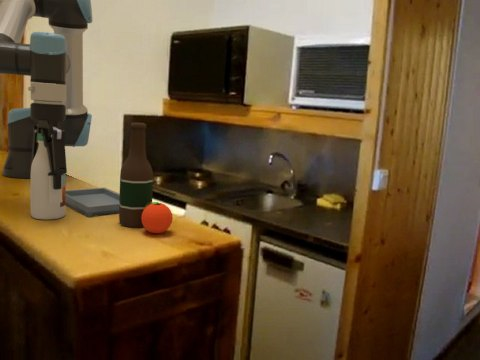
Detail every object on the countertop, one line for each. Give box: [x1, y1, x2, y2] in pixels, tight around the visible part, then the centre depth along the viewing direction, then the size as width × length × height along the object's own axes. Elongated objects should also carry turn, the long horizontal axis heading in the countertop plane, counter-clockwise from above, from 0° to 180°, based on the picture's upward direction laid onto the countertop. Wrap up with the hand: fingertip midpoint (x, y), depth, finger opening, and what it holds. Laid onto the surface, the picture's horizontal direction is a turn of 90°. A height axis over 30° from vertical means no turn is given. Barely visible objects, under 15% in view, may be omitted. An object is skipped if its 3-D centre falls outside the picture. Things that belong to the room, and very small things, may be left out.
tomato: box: [141, 201, 173, 234], centre depth 101 cm, size 8×7×7 cm
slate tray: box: [66, 187, 120, 218], centre depth 122 cm, size 20×14×2 cm
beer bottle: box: [118, 122, 154, 229], centre depth 105 cm, size 8×8×24 cm
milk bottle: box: [30, 133, 67, 221], centre depth 107 cm, size 8×8×20 cm
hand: (48, 198), depth 107 cm, fingers open, 9 cm apart
